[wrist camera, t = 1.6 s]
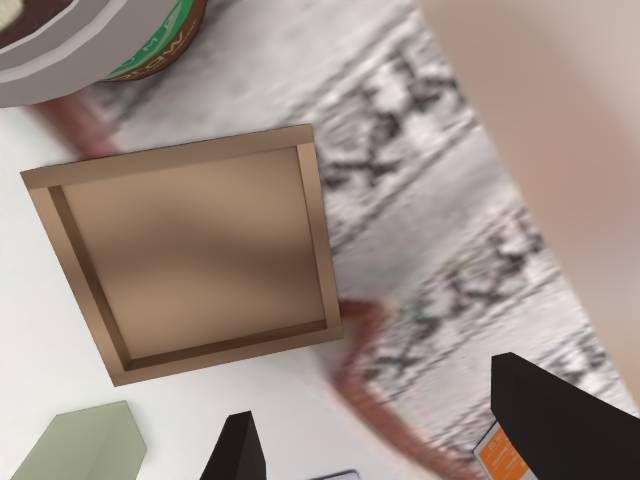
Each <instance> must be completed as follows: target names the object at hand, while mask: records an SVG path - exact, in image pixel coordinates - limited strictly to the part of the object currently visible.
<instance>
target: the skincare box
mask: <svg viewBox="0 0 640 480" xmlns="http://www.w3.org/2000/svg"><path fill="white" fill-rule="evenodd" d="M474 455H475V456H476V458H477V460H478V461H479V463H480V465H481V466H482V468H483V470H484V471H485V473H486V475H487V477H488V478H489V480H538V479H537V478H536V476H535V475H534V474H533V472H532V471H531V470H530V468H529V467H528V466H527V464H526V463H525V462H524V460H523V459H522V458H521V456H520V455H519V454H518V452H517V451H516V450H515V448H514V447H513V446H512V444H511V443H510V441H509V439H508V438H507V436H506V435H505V433H504V431H503V430H502V428H501V426H500V425H499V423H498V421H497V422H496V424H495V425H494V426H493V428H492V429H491V430H490V431H489V433H488V434H487V435H486V436H485V438H484V439H483V440H482V441H481V443H480V444H479V445H478V446H477V447H476V449H475V450H474Z"/></svg>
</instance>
